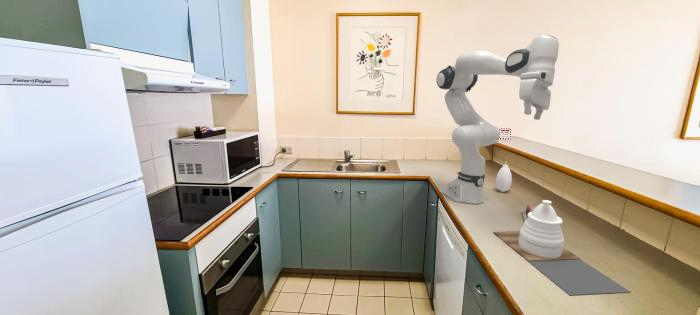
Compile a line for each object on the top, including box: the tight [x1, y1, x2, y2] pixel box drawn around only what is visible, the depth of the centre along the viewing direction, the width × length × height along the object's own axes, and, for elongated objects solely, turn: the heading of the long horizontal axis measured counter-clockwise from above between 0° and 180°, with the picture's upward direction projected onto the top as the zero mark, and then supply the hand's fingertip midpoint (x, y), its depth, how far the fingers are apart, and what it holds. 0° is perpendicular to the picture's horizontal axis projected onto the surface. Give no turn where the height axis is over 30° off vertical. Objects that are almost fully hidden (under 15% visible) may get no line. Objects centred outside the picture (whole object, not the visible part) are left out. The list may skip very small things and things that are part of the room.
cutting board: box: [493, 230, 581, 263], centre depth 103 cm, size 20×18×1 cm
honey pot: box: [518, 199, 565, 258], centre depth 98 cm, size 13×13×18 cm
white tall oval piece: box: [495, 162, 513, 193], centre depth 159 cm, size 8×8×18 cm
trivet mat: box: [528, 258, 631, 297], centre depth 85 cm, size 16×18×1 cm
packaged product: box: [521, 204, 538, 223], centre depth 123 cm, size 18×5×10 cm
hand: (532, 116), depth 105 cm, fingers open, 8 cm apart
